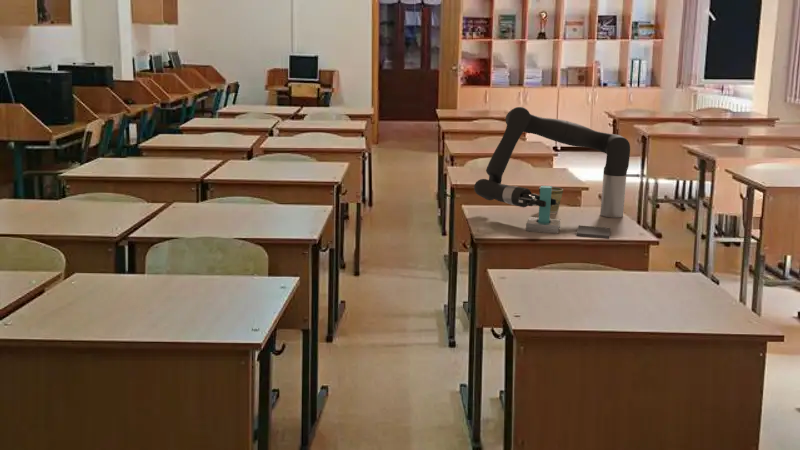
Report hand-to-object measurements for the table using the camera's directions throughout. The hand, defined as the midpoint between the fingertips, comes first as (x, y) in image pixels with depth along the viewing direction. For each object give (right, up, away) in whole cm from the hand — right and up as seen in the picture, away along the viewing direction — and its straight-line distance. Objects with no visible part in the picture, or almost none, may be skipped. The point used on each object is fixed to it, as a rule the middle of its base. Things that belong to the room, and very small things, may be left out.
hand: (550, 203), depth 354 cm
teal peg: (-2, -8, +4) cm, 9 cm away
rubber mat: (+16, -11, 0) cm, 20 cm away
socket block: (-2, -10, +4) cm, 11 cm away
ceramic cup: (+6, -3, +37) cm, 38 cm away
